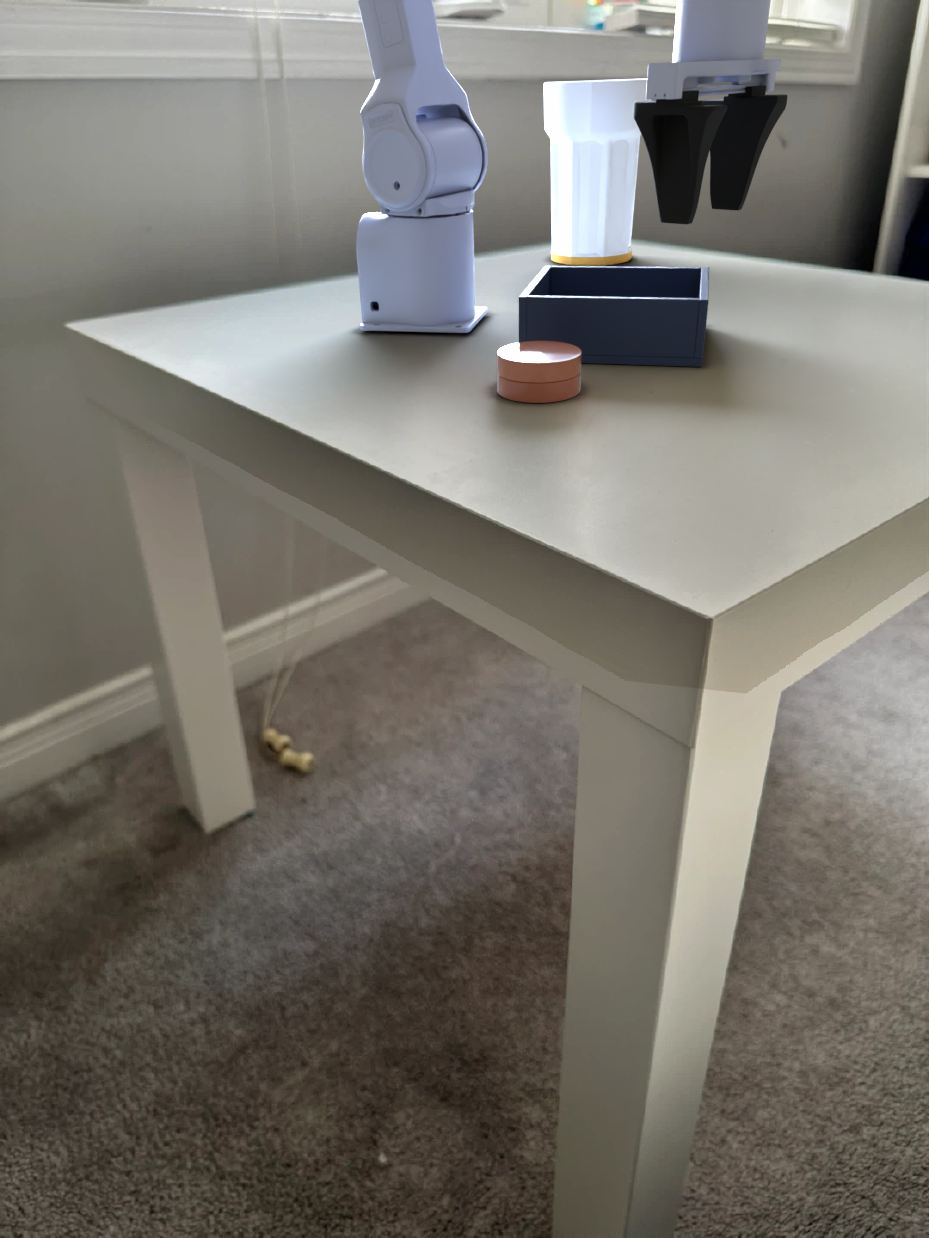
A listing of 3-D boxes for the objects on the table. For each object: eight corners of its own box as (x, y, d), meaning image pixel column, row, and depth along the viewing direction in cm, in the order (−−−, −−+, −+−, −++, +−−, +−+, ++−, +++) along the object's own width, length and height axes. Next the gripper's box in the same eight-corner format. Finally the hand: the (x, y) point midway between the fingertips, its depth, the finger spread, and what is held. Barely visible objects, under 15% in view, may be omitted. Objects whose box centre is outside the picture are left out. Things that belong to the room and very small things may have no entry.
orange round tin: (489, 401, 59) (488, 361, 58) (505, 377, 64) (505, 339, 63) (575, 405, 58) (576, 364, 57) (585, 380, 63) (586, 341, 61)
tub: (518, 361, 67) (518, 296, 65) (543, 322, 77) (544, 265, 75) (701, 367, 65) (708, 300, 62) (703, 326, 75) (709, 267, 72)
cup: (644, 250, 107) (656, 78, 98) (638, 268, 97) (650, 79, 88) (548, 250, 109) (551, 81, 100) (533, 267, 100) (535, 83, 91)
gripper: (735, -35, 49) (707, 234, 56) (833, -22, 59) (799, 206, 66) (622, -24, 53) (609, 226, 60) (730, -14, 63) (709, 201, 70)
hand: (702, 216), depth 63 cm, fingers open, 7 cm apart
